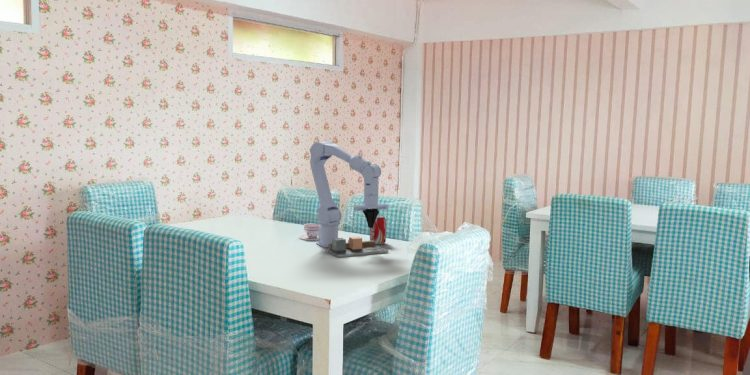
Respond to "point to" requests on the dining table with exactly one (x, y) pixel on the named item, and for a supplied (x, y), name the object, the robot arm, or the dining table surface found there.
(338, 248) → the fixed leg
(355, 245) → the block
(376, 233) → the soda can
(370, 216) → the robot arm
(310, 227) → the teacup
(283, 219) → the dining table surface
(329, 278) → the dining table surface
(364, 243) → the rail
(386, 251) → the plate
